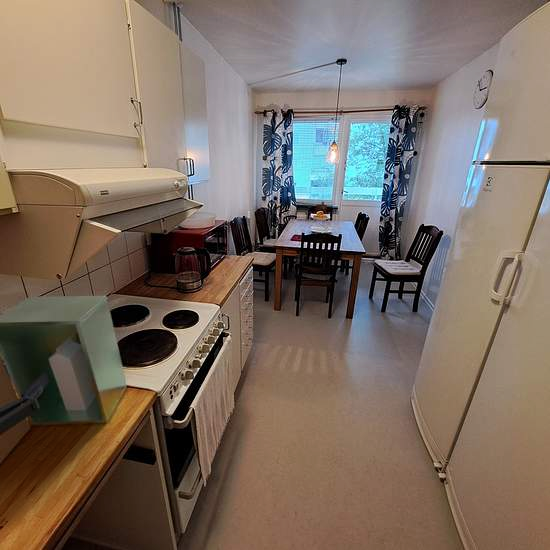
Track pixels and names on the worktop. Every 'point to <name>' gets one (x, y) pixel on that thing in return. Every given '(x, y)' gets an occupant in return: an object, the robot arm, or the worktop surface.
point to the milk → (72, 376)
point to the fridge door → (3, 394)
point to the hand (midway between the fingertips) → (14, 377)
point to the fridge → (42, 345)
